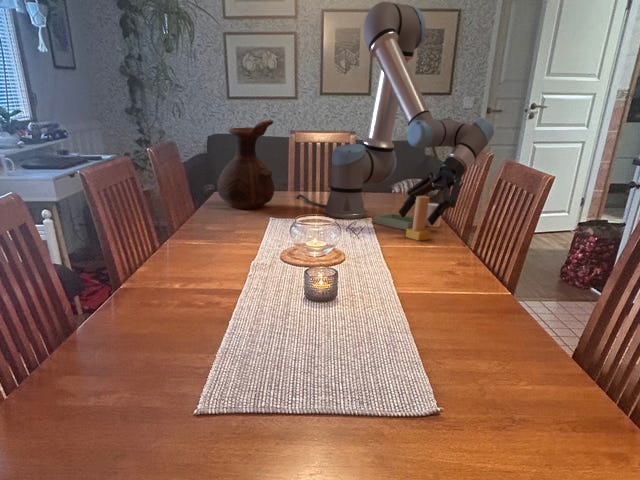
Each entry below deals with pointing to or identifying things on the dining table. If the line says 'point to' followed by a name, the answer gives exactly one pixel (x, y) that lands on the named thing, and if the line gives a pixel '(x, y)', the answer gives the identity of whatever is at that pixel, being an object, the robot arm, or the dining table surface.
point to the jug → (246, 172)
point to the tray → (395, 221)
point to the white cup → (430, 209)
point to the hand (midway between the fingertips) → (414, 218)
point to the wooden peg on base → (419, 220)
